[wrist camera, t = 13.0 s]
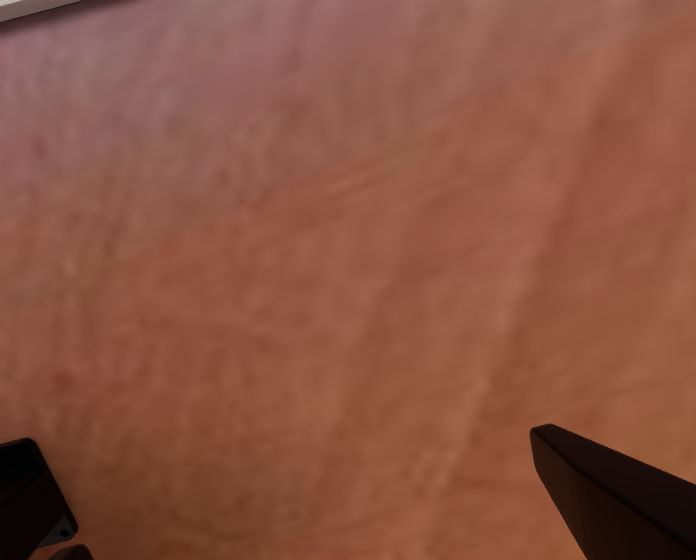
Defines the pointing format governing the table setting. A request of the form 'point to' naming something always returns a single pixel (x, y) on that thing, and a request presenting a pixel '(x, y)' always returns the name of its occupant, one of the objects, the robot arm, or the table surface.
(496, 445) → the table surface
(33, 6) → the toy car chassis
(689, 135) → the table surface
